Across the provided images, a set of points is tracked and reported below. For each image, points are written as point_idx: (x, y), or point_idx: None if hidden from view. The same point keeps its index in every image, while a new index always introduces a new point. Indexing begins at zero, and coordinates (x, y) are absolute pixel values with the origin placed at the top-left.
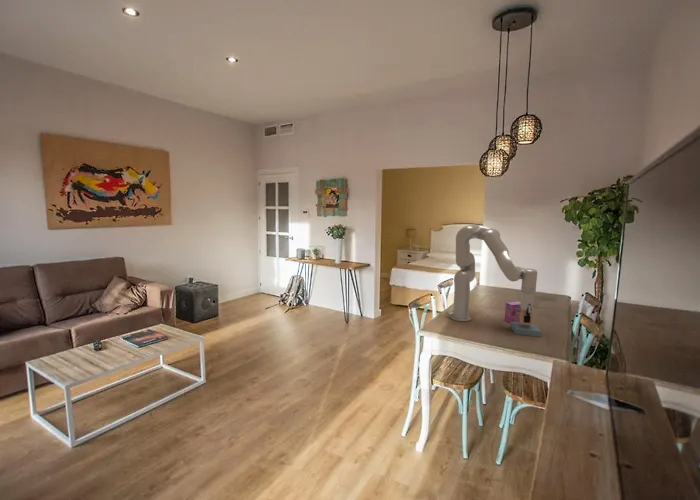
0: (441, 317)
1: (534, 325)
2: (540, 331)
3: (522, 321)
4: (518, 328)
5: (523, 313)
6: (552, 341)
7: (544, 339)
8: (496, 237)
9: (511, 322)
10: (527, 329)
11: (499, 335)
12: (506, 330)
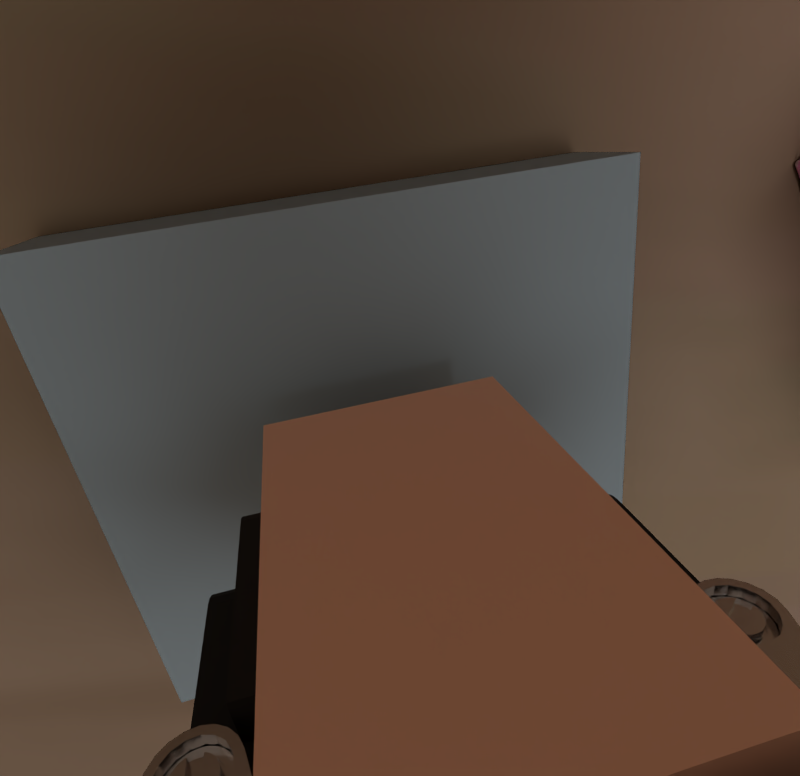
0: None
1: None
2: (178, 693)
3: (267, 479)
4: (92, 324)
5: (260, 748)
6: (49, 753)
7: (73, 673)
8: None
9: (562, 164)
10: (150, 508)
11: None
12: (221, 25)
